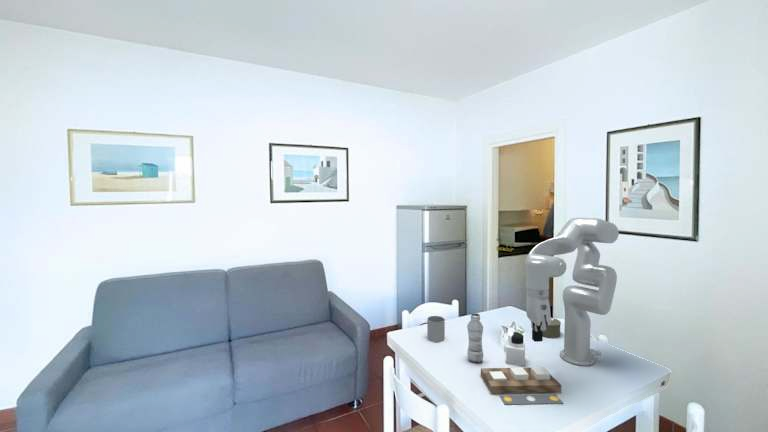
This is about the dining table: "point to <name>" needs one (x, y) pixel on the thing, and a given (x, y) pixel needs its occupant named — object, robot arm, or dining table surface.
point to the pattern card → (530, 399)
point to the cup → (436, 329)
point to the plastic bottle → (475, 338)
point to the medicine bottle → (515, 349)
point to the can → (552, 329)
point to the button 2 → (540, 373)
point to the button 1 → (497, 376)
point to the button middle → (518, 374)
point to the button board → (519, 383)
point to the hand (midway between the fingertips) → (537, 340)
